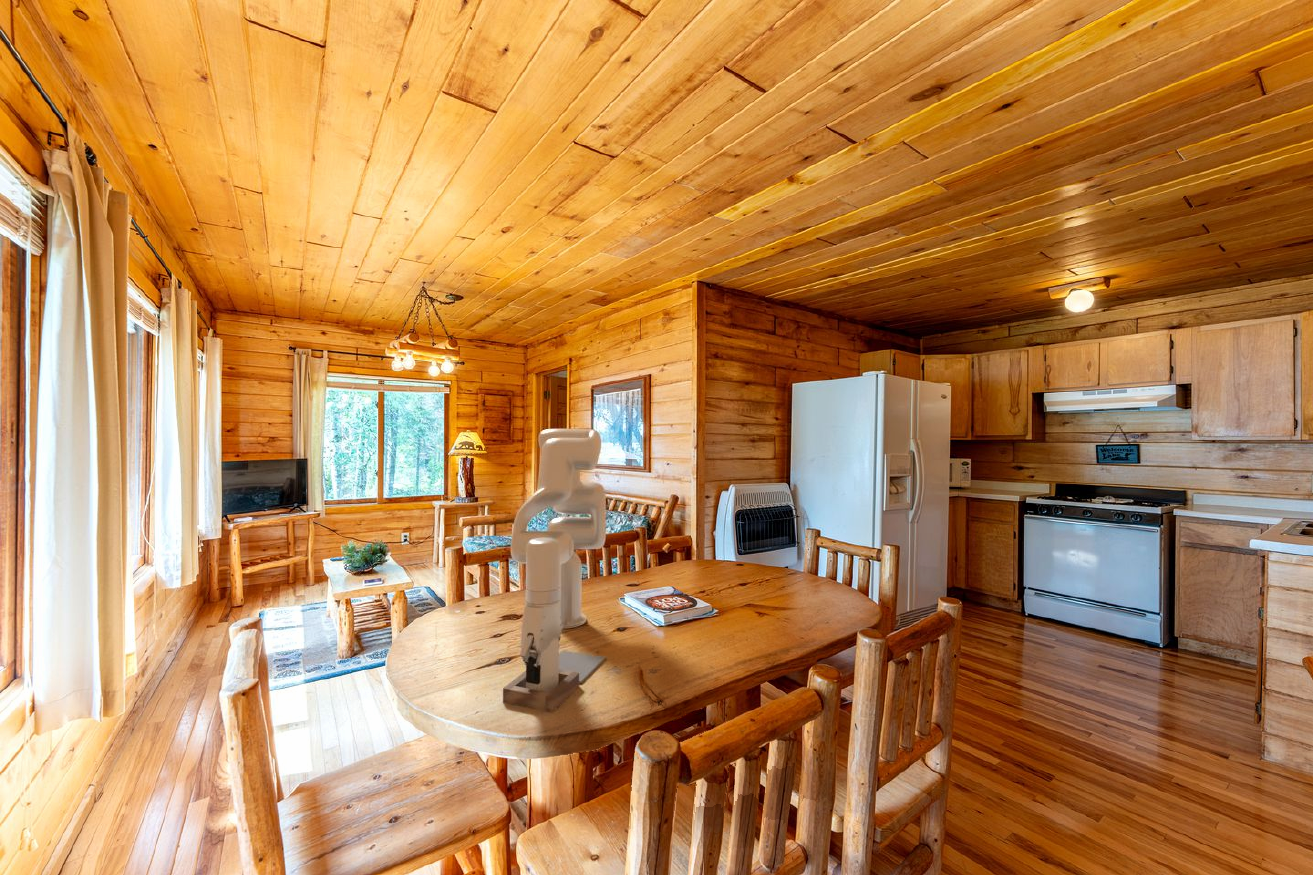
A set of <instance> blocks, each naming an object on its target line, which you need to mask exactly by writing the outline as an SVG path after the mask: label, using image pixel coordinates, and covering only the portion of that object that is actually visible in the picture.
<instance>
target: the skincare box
mask: <svg viewBox="0 0 1313 875" xmlns="http://www.w3.org/2000/svg"><path fill="white" fill-rule="evenodd" d="M532 650H537V648H536V647H535V646H532ZM559 653H560V641H559V639H558V638H555V639H553V640H552V641H551V643H550V645H549V647H548V648H547V649H545V650H544V651H542V652H541V656H540V660H539V665H541V668H540V683H539V684H532V683H527V682H526V688H528V689H533V690H539V691H544V692H549V693H550V692H551V691H552V690H553V689H554V688H555V687H556V686H557V685H558V681H559ZM531 656H532V657H533V658H534V659H535V657H536V653H532V654H531Z"/></svg>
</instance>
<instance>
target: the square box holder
mask: <svg viewBox="0 0 1313 875" xmlns="http://www.w3.org/2000/svg"><path fill="white" fill-rule="evenodd" d="M579 687H580V684H579V673H576V672H570V671H565V670H559V681H558V685H557V686H556V687H555V688H554V689H553V690H552V691H551V692H550V693H549V692H544V691H539V690H533V689H528V688H526V670H524V671H523V672H522V673H521V674H519V675H518V676H517V677H516V678H514V679H513V680H512V681H511V682H509V683H508V684H507V685H505V686H504V687H503V688H502V703H505V704H511V705H515V706H519V707H524V708H530V709H535V710H539V711H545V712H549V713H554V712H555V711H556V710H557V709H558V708H559V707H560V706H561V705H562V704H563V703H564V702H565V701H566V700H567V699H568V698H569V697H570V696H571V695H572V694H573V693H574V692H575V691H576V690H577V689H578V688H579ZM560 704H561V705H560ZM558 706H559V707H558Z"/></svg>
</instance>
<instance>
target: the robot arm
mask: <svg viewBox="0 0 1313 875" xmlns="http://www.w3.org/2000/svg"><path fill="white" fill-rule="evenodd" d="M538 444H539V445H538V446H539V448H540V451H541V453H540V461H539V462H540V463H539V468H538V469H539V470H538V478H537V486H536V487H537V488H536V491H535V492H534V493H533V494H532V495H531V496H529V497H528V498H527V499H526V501H524V502H523V504H522V505H521V506H520V507H519V509H518V511H517V513H516V516H515V518H514V520H513V525H512V526H513V527H512V533H511V538H510V539H511V540H510V556H511V558H512V559H513V561H514V562H515V563H518V564H525V605H524V608H523V612H522V621H521V630H520V631H521V634H520V649H521V652H520V654H519V656H520V657H521V659H522V661H523V662H524V665H525V666H526V667H525V671H526V682H527V683H532V684H539V683H540V668H541V665H539V660H540V656H541V652H542V651H544V650H545V649H547V648H548V647H549V645H550V643H551V641H552V640H553V639H555V638H558V639H559V642H560V640H561V634H562V632H563V630H564V629H573V628H578V627H580V626H582V625H584V624H585V623H586V622H587V615H586V614H585V613H583V612H582V581H583V580H582V577H583V576H582V575H583V574H582V573H583V572H582V569H583V566H582V561H581V558H580V557H579V555H578V554H577V552H575V550H598V549H601V548H602V547H603V546H605V542H606V537H607V521H606V520H607V517H606V516H607V515H606V514H607V510H606V509H607V503H606V501H607V500H606V492H605V488H604V486H603V485H602V484H601V483H598V482H593V481H592V482H588V481H587V482H586V481H585V482H584V481H581V471H592V470H594V469H595V468H596V467H597V465H598V462H599V460H600V454H601V449H602V439H601V435H600V433H599V432H598V430H595V429H593V428H592V429H590V428H582V429H581V428H548V429H544V430H542V431H540V432H539V434H538ZM550 508H552V510H553V511H554V512H555V513H556V514H560V515H588V516H559V517H556V518H553V519H551V520H550V521H549V522H548V524H547V528H546V530H527V527H528V525H529V523H530V522H531V520H532V519H533V518H534V517H535V516H537V515H538V514H540V513H542V512H544V511H546V510H548V509H550ZM532 646H535V647H536V648H537V650H532ZM532 653H536V657H535V659H534V658H533V657H532V656H531V654H532Z"/></svg>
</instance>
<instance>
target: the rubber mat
mask: <svg viewBox="0 0 1313 875" xmlns="http://www.w3.org/2000/svg"><path fill="white" fill-rule="evenodd" d="M606 659H607V658H606V656H603V655H595V654H588V653H582V652H576V651H571V650H563V649H562V651H561V652H559V670H565V671H570V672H576V673H579V685H582V684H583V683H584V682H585V681H586V680H587V679H588V678H589V677H590V676H591V674H593V672H595V670H596V669H598V668H599V666H601V665H602V664H603V663H604V662H605V660H606Z"/></svg>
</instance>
